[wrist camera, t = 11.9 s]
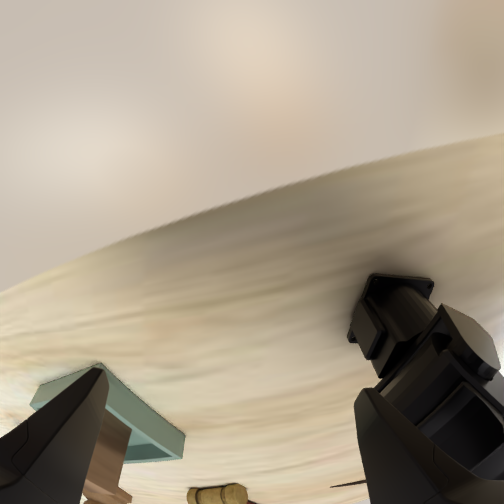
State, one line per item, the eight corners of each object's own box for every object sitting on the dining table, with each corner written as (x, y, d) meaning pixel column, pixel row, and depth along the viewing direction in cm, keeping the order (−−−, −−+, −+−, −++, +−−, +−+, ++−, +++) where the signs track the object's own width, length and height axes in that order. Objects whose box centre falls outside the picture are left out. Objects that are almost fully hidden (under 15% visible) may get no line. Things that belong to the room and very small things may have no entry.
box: (101, 362, 24) (89, 388, 21) (185, 435, 30) (182, 458, 26) (39, 385, 27) (29, 404, 24) (112, 445, 32) (107, 463, 29)
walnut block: (102, 404, 26) (77, 474, 17) (132, 428, 28) (115, 495, 19) (78, 409, 27) (54, 471, 18) (107, 432, 29) (89, 492, 20)
